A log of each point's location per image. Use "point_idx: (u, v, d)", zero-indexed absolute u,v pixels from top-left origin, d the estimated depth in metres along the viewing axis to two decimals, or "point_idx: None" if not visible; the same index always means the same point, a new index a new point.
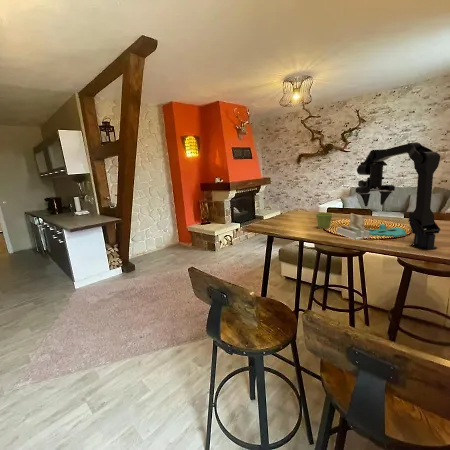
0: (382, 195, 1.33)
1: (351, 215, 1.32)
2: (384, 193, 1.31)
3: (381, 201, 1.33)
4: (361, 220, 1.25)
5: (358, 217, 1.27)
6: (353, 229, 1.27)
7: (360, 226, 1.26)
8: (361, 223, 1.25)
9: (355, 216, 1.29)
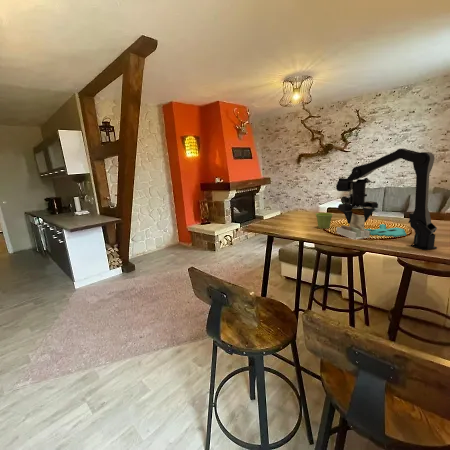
0: (365, 212, 1.29)
1: None
2: (367, 210, 1.28)
3: None
4: (361, 220, 1.25)
5: (358, 217, 1.27)
6: (353, 229, 1.27)
7: (360, 226, 1.26)
8: (361, 223, 1.25)
9: (355, 216, 1.29)
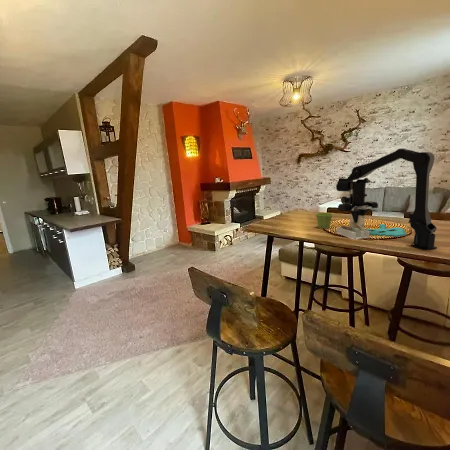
0: (359, 213, 1.29)
1: (351, 215, 1.32)
2: (360, 211, 1.27)
3: None
4: (361, 220, 1.25)
5: (358, 217, 1.27)
6: (353, 229, 1.27)
7: (360, 226, 1.26)
8: (361, 223, 1.25)
9: None
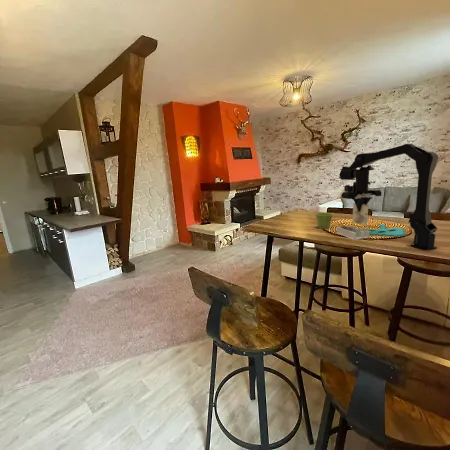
0: None
1: (354, 204, 1.31)
2: (364, 199, 1.26)
3: None
4: (365, 209, 1.24)
5: (361, 206, 1.26)
6: (353, 229, 1.27)
7: (363, 215, 1.25)
8: (365, 212, 1.24)
9: None
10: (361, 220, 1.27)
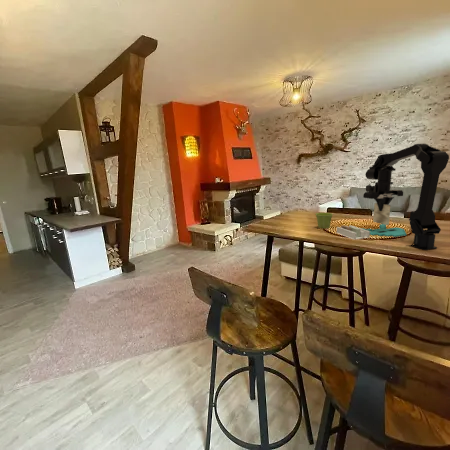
0: None
1: (375, 204, 1.34)
2: (386, 199, 1.29)
3: None
4: (386, 209, 1.27)
5: (383, 206, 1.29)
6: (353, 229, 1.27)
7: (385, 215, 1.28)
8: (386, 212, 1.27)
9: None
10: (382, 220, 1.30)
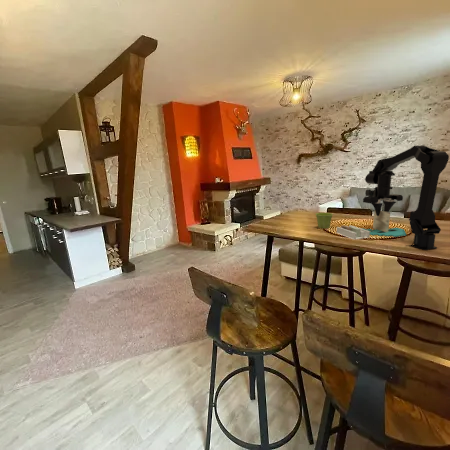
0: (386, 205, 1.31)
1: None
2: (388, 203, 1.30)
3: (385, 211, 1.31)
4: (386, 216, 1.28)
5: (383, 213, 1.29)
6: (353, 229, 1.27)
7: (385, 222, 1.29)
8: (386, 219, 1.28)
9: (380, 212, 1.32)
10: (382, 227, 1.31)
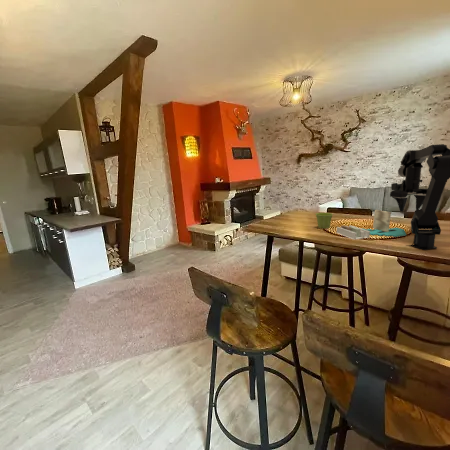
0: (418, 199, 1.23)
1: (376, 211, 1.35)
2: (420, 197, 1.21)
3: (417, 206, 1.23)
4: (387, 216, 1.28)
5: (384, 213, 1.30)
6: (353, 229, 1.27)
7: (386, 222, 1.29)
8: (387, 219, 1.28)
9: (380, 212, 1.32)
10: (382, 227, 1.31)
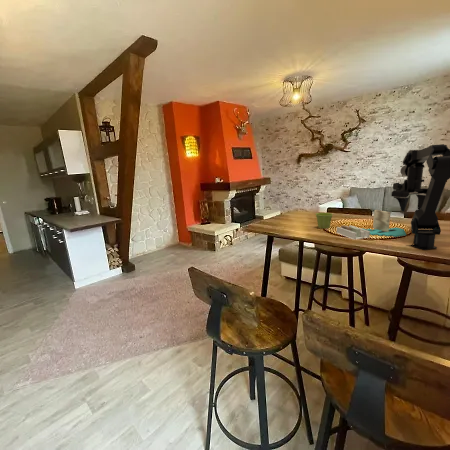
0: (420, 199, 1.22)
1: (375, 211, 1.35)
2: (422, 197, 1.21)
3: (419, 205, 1.23)
4: (387, 216, 1.28)
5: (383, 213, 1.30)
6: (353, 229, 1.27)
7: (385, 222, 1.29)
8: (387, 219, 1.28)
9: (380, 212, 1.32)
10: (382, 227, 1.31)
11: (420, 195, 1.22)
